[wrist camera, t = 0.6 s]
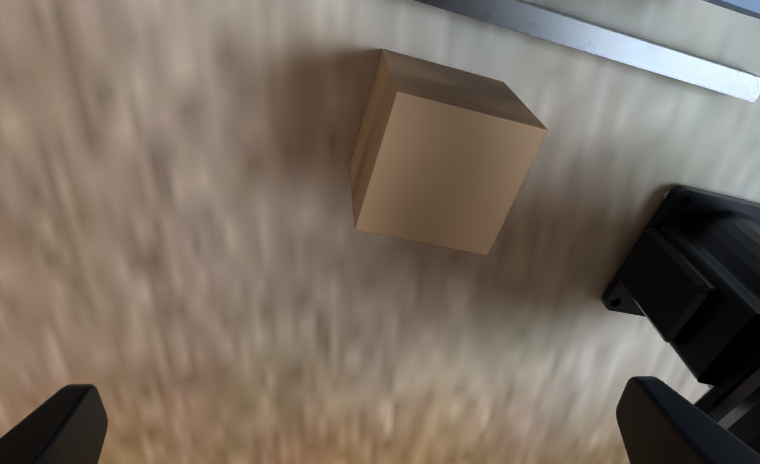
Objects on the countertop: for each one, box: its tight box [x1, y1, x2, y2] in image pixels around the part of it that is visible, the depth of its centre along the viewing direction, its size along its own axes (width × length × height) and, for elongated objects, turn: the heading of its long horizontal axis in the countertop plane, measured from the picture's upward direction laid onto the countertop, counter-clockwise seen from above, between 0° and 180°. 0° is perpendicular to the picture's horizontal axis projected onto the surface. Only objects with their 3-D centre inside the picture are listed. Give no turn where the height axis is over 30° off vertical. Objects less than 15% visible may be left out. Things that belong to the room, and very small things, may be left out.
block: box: [350, 49, 547, 255], centre depth 17 cm, size 4×4×4 cm
